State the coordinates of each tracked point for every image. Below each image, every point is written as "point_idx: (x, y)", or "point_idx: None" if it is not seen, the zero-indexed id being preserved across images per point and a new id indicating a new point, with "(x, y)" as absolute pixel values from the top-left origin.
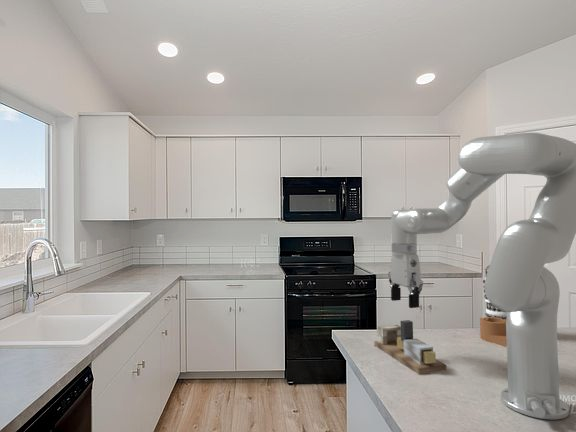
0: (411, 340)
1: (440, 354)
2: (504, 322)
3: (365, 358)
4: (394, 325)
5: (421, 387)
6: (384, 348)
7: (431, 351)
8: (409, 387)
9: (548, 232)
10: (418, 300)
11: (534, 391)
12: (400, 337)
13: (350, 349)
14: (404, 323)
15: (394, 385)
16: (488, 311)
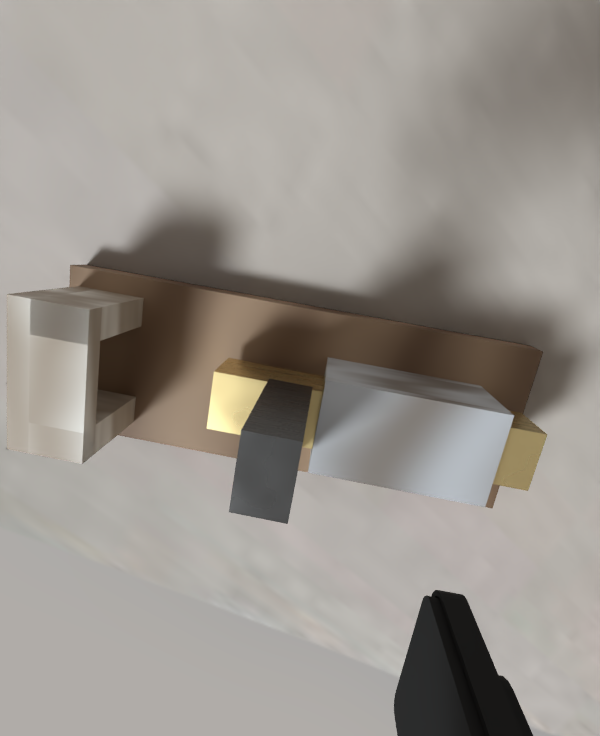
0: (342, 438)
1: (356, 183)
2: None
3: (216, 562)
4: (41, 332)
5: (577, 574)
6: (178, 443)
7: (519, 439)
8: (547, 610)
9: None
10: (499, 696)
11: None
12: (218, 409)
13: (86, 548)
14: (287, 514)
15: (499, 641)
16: None
